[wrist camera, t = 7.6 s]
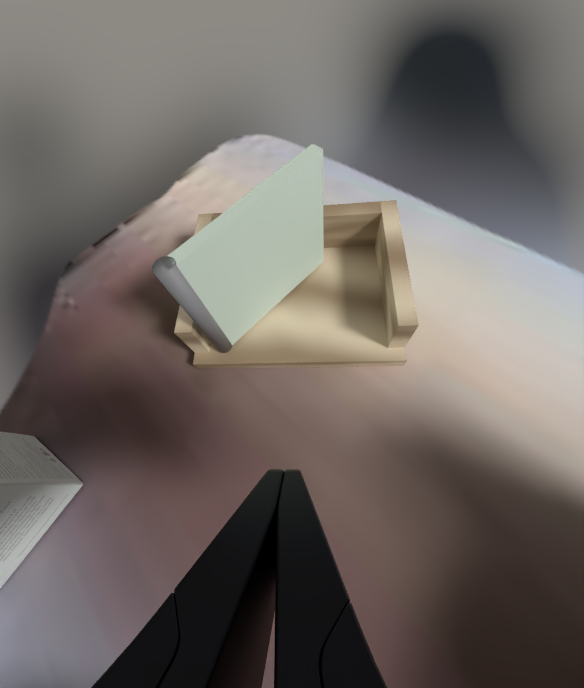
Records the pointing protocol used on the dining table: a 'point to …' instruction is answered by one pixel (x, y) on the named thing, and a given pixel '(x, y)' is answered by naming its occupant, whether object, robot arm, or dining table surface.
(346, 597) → the robot arm
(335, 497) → the dining table surface
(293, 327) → the wooden tray
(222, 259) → the door
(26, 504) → the small box
